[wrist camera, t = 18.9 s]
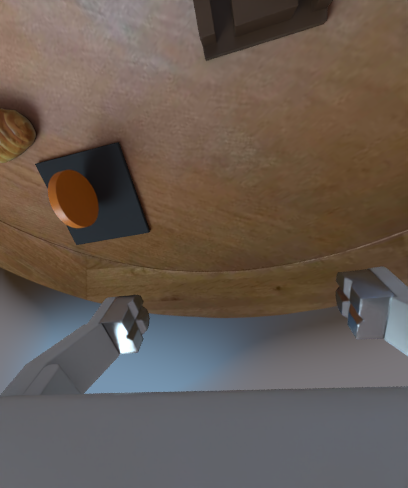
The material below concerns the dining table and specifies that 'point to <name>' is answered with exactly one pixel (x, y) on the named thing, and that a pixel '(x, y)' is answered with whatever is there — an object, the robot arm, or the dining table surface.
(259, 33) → the rack
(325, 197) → the dining table surface
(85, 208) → the orange disc
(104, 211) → the mat
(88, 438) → the robot arm
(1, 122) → the pastry
